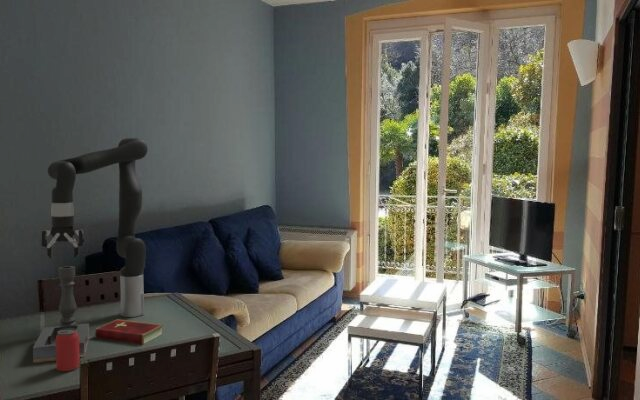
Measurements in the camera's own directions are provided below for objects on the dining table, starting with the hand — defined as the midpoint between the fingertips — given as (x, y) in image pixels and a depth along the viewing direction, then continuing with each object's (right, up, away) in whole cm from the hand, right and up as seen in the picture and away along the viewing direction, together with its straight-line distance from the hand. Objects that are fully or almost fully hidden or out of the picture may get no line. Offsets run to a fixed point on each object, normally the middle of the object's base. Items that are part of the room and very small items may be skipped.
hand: (63, 257), depth 187 cm
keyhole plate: (+7, -30, -15) cm, 34 cm away
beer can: (+17, -32, -31) cm, 47 cm away
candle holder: (+1, -29, +3) cm, 29 cm away
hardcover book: (+25, -30, -1) cm, 39 cm away
